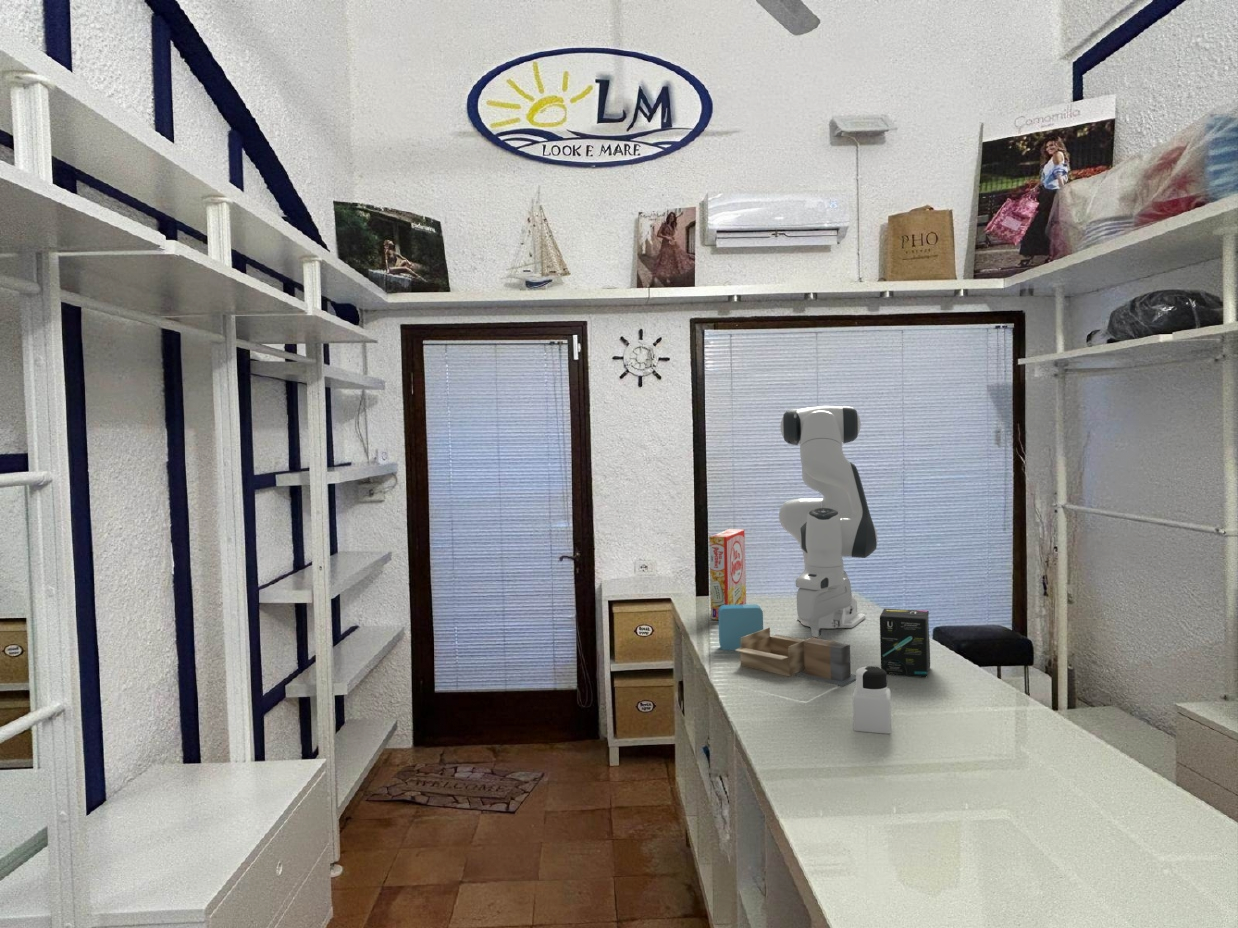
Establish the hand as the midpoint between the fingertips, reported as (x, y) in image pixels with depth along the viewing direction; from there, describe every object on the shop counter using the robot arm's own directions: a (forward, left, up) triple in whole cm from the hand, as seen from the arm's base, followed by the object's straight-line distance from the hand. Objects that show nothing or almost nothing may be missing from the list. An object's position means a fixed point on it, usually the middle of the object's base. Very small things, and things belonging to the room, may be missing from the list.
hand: (826, 631), depth 199 cm
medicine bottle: (+23, +24, -11) cm, 35 cm away
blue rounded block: (-8, -31, -11) cm, 34 cm away
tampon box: (-16, +13, -11) cm, 23 cm away
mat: (0, 0, -11) cm, 11 cm away
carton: (-1, -14, -11) cm, 18 cm away
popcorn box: (-40, -59, -11) cm, 72 cm away
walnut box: (0, 0, -11) cm, 11 cm away
